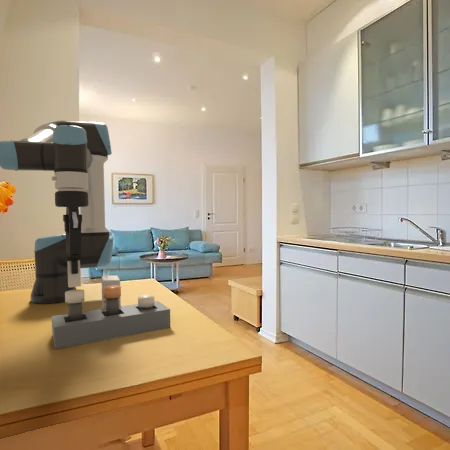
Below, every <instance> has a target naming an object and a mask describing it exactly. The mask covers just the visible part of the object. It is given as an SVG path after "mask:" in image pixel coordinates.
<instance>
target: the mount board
mask: <svg viewBox="0 0 450 450" xmlns="http://www.w3.org/2000/svg"><path fill="white" fill-rule="evenodd" d="M154 303H155V305H154V306H152V309H151V310H144V311H140V307H138V303H134V304H126V305H121V306H120V307H119V314H118V315H112V316H106V309H102V308H100V309H94V310H93V309H91V310H85V311H82V320H79V321H73V322H69V321H68V313H66V314H58V315H52V316H51V326H52V327H51V329H52V330H51V331H52V332H51V333H52V340H53V345H54V350H57V349H62V348H67V347H72V346H73V347H74V346H78V345H84V344H89V343H96V342H99V341H104V340H110V339H116V338H120V337H121V338H122V337H127V336H131V335H132V336H133V335H137V334H143V333H147V332H148V333H149V332H153V331H159V330H164V329H170V328H171V308H169V307H168V306H166V305H165V304H163V303H162V302H160V301H159V300H154Z"/></svg>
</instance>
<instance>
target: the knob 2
mask: <svg viewBox="0 0 450 450" xmlns="http://www.w3.org/2000/svg"><path fill="white" fill-rule="evenodd" d="M154 301H155V295H154V294H143V295H142V294H141V295H139V296H138V297H137V304H138V307H140V311H144V310H151V309H152V306H154V305H155V303H154Z"/></svg>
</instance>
